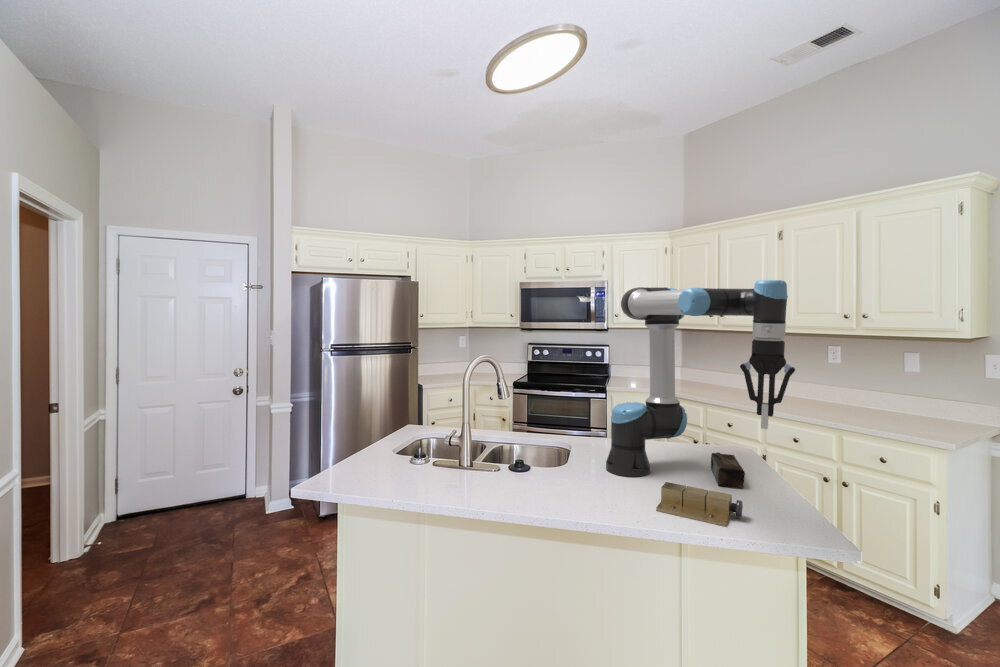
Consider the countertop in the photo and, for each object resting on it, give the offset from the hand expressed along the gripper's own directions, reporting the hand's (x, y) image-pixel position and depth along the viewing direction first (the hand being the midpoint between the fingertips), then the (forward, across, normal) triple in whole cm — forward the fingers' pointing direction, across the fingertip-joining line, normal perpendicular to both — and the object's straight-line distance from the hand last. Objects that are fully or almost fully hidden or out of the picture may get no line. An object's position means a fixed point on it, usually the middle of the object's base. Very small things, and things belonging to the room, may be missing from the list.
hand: (764, 427), depth 128 cm
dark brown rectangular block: (+27, -13, +31) cm, 43 cm away
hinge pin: (+25, -14, -1) cm, 29 cm away
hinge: (+26, -16, -1) cm, 31 cm away
